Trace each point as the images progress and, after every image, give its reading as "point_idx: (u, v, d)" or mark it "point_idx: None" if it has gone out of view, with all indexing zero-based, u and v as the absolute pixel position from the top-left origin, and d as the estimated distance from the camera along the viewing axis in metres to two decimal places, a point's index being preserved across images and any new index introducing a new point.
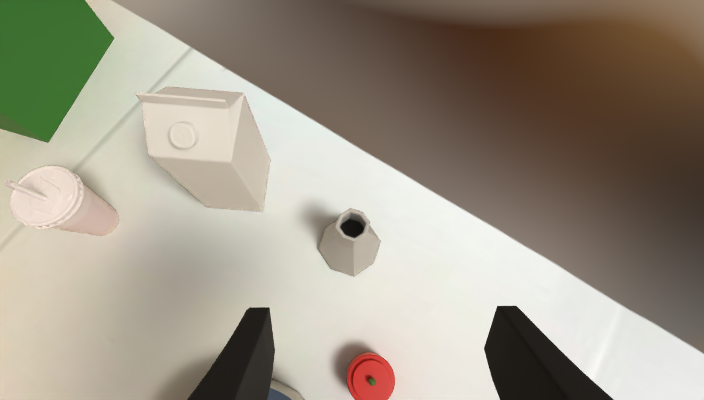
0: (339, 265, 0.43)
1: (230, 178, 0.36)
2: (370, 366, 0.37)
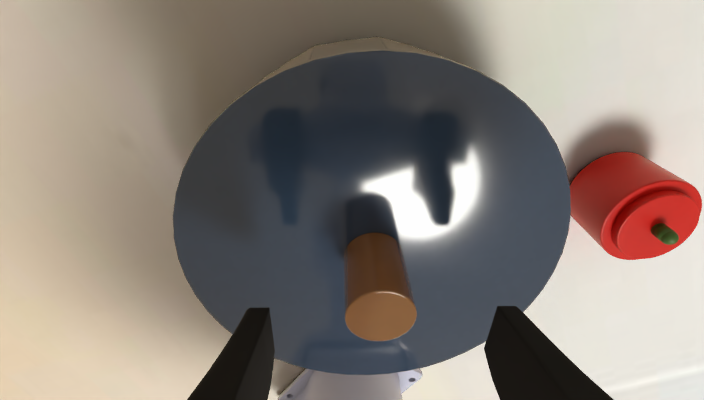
0: None
1: None
2: (682, 208, 0.18)
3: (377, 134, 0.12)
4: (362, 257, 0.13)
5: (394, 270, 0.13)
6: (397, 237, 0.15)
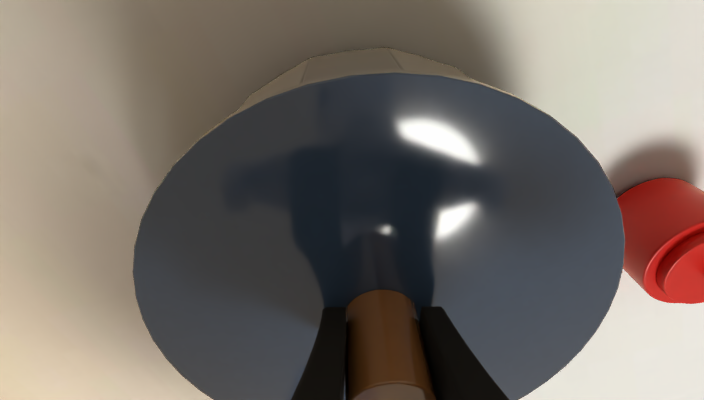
0: None
1: None
2: None
3: (387, 176, 0.10)
4: (367, 326, 0.11)
5: (408, 347, 0.10)
6: (410, 295, 0.12)
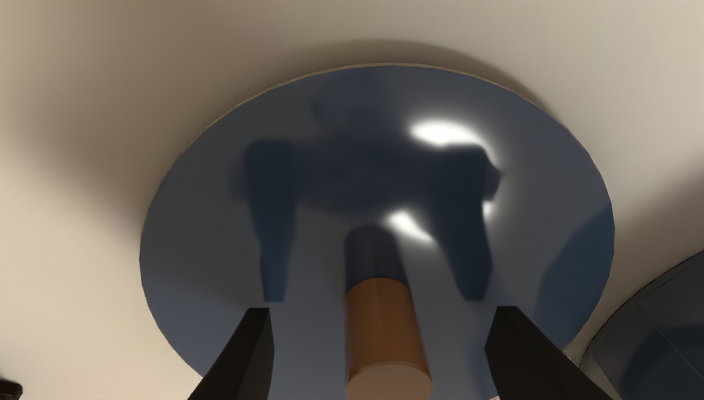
0: None
1: None
2: None
3: (384, 166, 0.10)
4: (366, 311, 0.11)
5: (405, 330, 0.10)
6: (407, 282, 0.12)
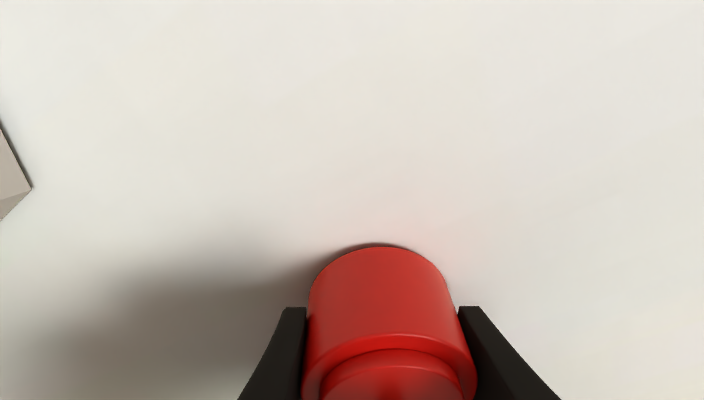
0: None
1: None
2: (345, 399, 0.09)
3: None
4: None
5: None
6: None
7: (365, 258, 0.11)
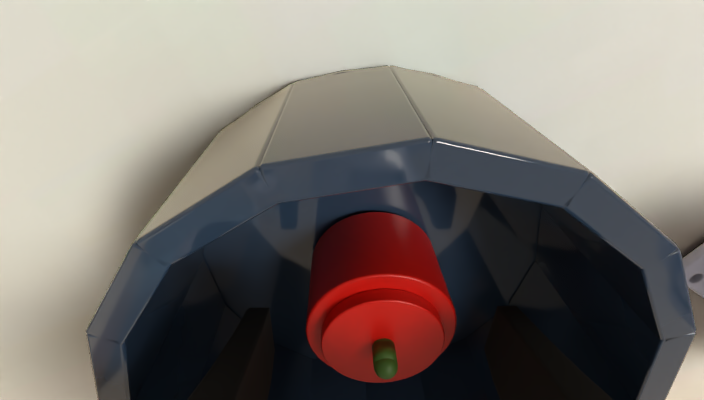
0: None
1: None
2: (344, 332, 0.11)
3: None
4: None
5: None
6: None
7: (361, 220, 0.13)
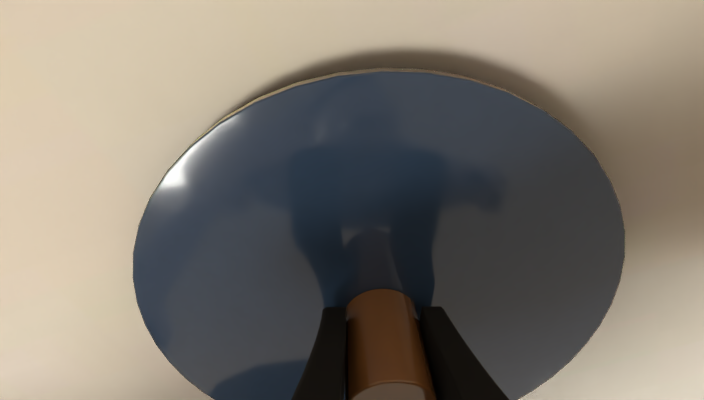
0: None
1: None
2: None
3: (534, 306, 0.12)
4: (419, 335, 0.11)
5: None
6: None
7: None
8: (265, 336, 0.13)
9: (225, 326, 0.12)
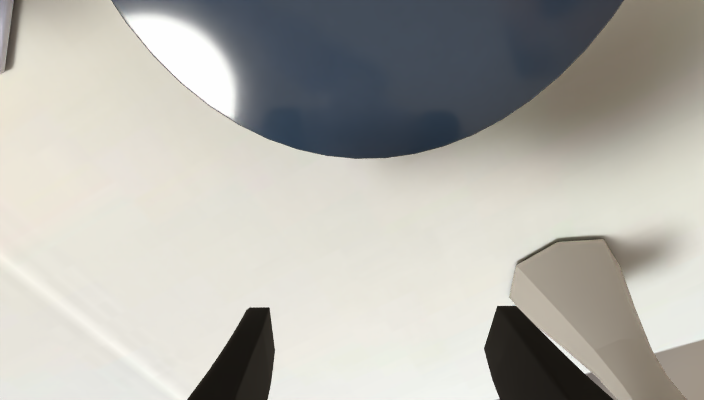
0: (559, 269, 0.22)
1: None
2: None
3: None
4: None
5: None
6: None
7: None
8: None
9: None
